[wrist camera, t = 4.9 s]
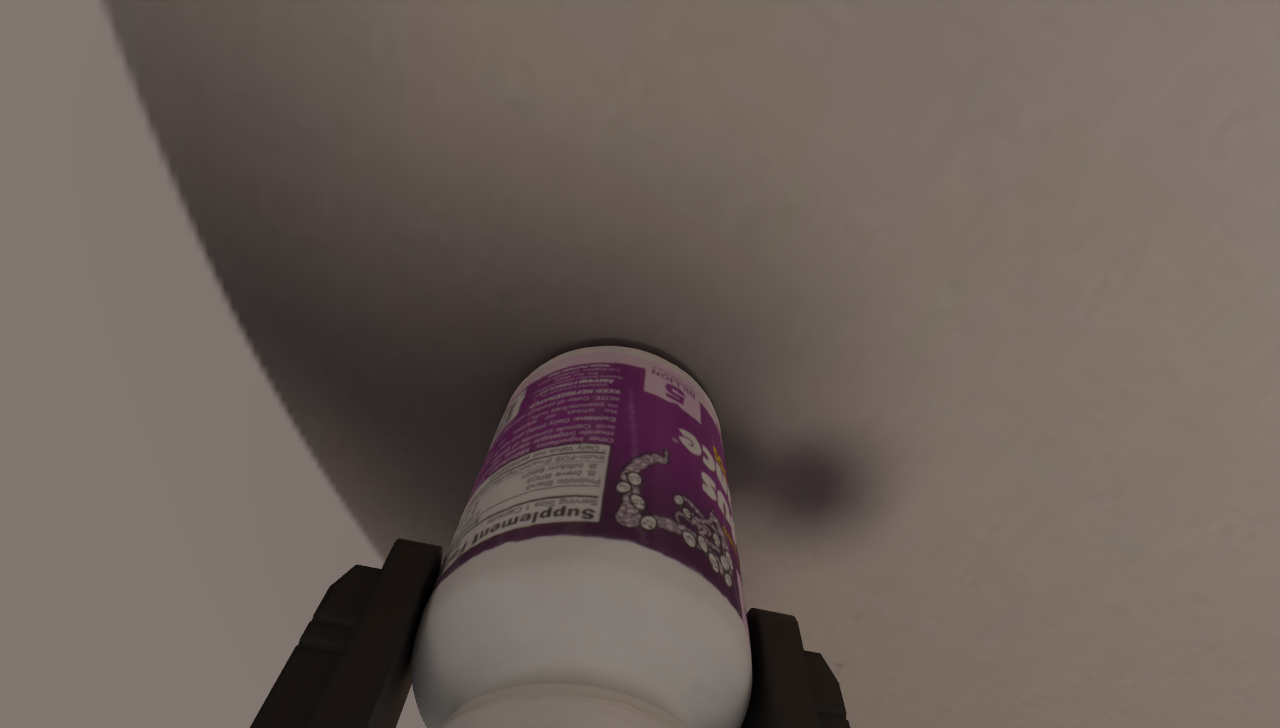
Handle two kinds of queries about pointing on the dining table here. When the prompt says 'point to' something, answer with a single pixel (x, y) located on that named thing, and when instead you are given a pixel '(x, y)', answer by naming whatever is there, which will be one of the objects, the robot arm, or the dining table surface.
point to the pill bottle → (592, 562)
